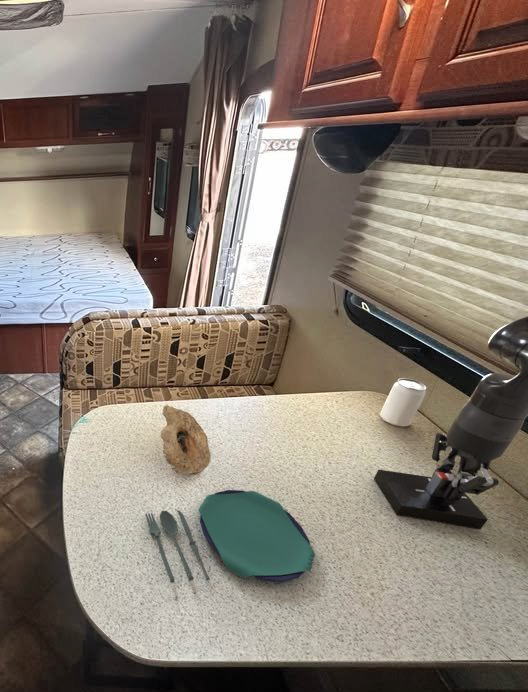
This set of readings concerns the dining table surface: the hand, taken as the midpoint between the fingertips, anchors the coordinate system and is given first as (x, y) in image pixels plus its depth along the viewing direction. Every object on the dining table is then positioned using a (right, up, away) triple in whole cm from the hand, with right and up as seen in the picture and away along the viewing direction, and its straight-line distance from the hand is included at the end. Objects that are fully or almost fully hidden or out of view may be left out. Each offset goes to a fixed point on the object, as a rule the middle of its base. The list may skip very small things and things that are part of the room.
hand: (443, 490), depth 77 cm
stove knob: (0, -1, +1) cm, 1 cm away
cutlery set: (-47, -9, -3) cm, 48 cm away
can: (+14, +9, +26) cm, 31 cm away
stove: (-2, -4, +2) cm, 5 cm away
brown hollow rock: (-48, +2, +19) cm, 51 cm away
